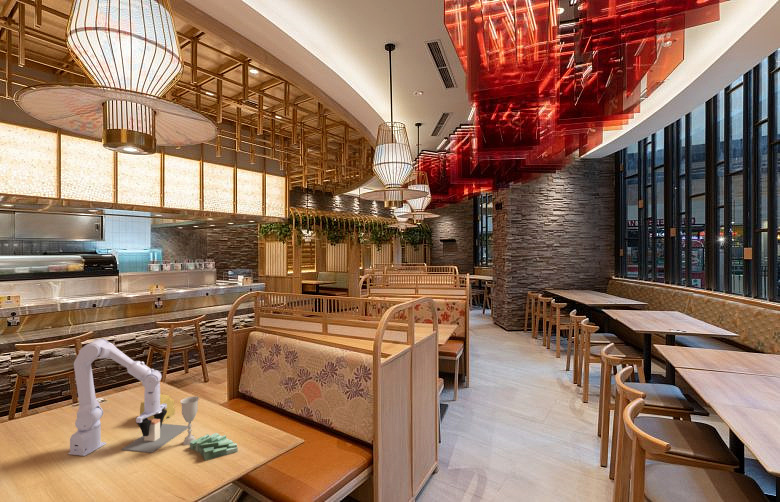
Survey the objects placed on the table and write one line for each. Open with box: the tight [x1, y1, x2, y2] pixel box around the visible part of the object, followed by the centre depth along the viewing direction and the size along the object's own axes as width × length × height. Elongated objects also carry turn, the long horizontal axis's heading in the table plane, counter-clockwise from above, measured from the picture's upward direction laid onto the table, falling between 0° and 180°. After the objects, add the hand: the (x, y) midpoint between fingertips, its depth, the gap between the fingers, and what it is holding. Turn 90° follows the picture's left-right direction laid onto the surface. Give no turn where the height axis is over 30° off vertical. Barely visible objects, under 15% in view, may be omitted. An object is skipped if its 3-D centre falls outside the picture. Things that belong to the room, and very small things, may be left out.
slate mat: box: [121, 423, 188, 454], centre depth 160 cm, size 22×14×1 cm, turn 172°
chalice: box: [179, 395, 200, 446], centre depth 156 cm, size 7×7×18 cm
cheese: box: [139, 393, 176, 422], centre depth 178 cm, size 10×11×10 cm
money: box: [189, 432, 239, 461], centre depth 151 cm, size 20×16×5 cm
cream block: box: [144, 418, 160, 441], centre depth 158 cm, size 3×5×8 cm, turn 82°
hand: (152, 431), depth 158 cm, fingers open, 6 cm apart
